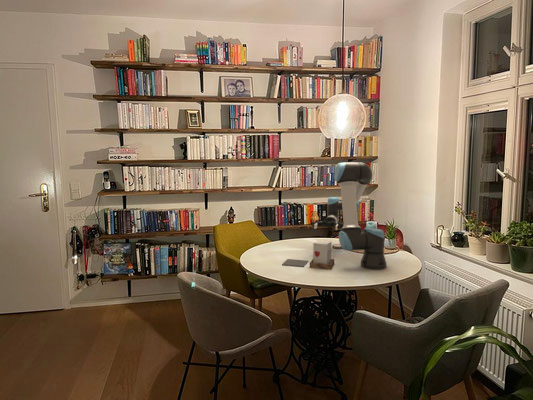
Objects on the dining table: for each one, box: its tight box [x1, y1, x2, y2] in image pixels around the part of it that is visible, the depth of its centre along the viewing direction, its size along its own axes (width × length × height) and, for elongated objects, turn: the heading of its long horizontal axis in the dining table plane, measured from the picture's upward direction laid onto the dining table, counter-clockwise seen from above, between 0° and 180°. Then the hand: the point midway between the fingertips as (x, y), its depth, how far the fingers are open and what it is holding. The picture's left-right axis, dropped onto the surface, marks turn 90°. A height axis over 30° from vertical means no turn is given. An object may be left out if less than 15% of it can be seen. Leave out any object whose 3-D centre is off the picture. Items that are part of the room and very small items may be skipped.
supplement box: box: [312, 239, 332, 264], centre depth 231 cm, size 9×9×15 cm
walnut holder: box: [309, 258, 335, 270], centre depth 231 cm, size 13×13×3 cm
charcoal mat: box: [281, 258, 310, 268], centre depth 237 cm, size 14×13×1 cm
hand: (325, 227), depth 238 cm, fingers open, 13 cm apart
